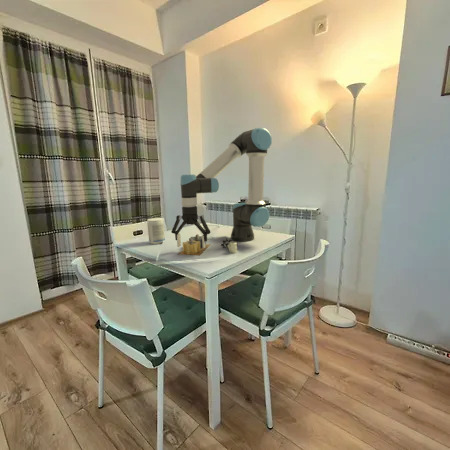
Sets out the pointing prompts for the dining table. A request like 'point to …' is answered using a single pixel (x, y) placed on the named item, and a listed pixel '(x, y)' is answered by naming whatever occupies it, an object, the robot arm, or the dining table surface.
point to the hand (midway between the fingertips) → (191, 246)
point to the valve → (230, 245)
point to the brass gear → (191, 247)
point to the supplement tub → (156, 230)
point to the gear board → (200, 248)
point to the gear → (198, 240)
